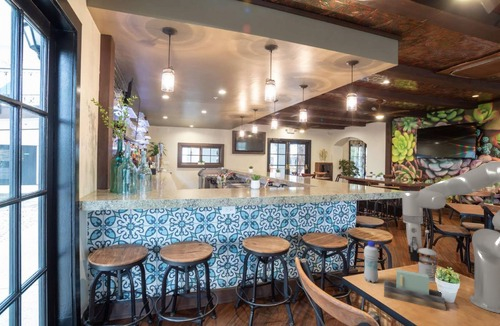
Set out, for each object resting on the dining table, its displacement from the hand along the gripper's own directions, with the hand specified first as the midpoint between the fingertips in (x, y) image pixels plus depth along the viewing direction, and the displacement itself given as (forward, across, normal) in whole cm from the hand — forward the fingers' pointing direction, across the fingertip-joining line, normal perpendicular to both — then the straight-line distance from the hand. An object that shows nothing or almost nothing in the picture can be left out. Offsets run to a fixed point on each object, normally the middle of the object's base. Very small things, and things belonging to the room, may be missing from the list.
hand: (413, 257), depth 112 cm
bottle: (+17, +8, +18) cm, 26 cm away
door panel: (+16, 0, +1) cm, 16 cm away
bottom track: (+18, 0, +1) cm, 18 cm away
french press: (+18, +26, -8) cm, 33 cm away
